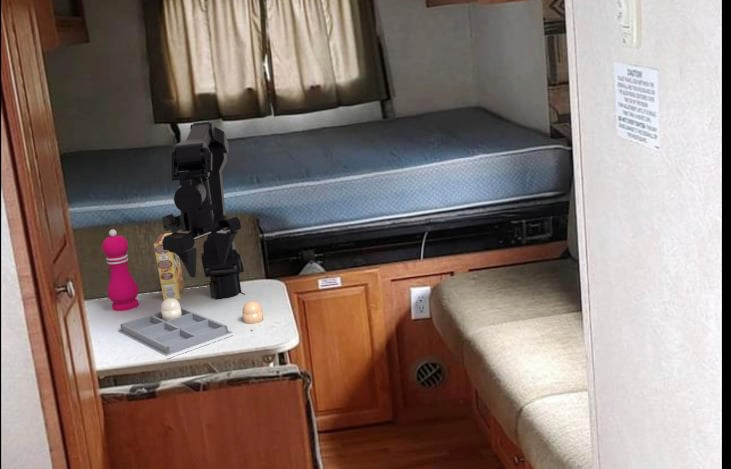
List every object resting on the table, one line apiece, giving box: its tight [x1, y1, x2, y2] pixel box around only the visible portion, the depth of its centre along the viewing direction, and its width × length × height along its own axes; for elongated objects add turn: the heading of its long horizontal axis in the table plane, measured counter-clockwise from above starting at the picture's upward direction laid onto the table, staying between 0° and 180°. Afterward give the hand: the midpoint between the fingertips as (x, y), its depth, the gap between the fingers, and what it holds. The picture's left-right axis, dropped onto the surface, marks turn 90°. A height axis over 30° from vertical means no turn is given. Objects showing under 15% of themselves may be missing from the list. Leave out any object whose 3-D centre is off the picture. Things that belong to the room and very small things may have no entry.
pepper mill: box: [101, 228, 140, 312], centre depth 227 cm, size 7×7×20 cm
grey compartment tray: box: [117, 306, 234, 360], centre depth 209 cm, size 16×23×2 cm
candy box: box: [153, 232, 185, 301], centre depth 233 cm, size 9×4×15 cm, turn 2°
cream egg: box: [160, 298, 182, 321], centre depth 216 cm, size 4×4×5 cm
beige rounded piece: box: [242, 300, 264, 327], centre depth 211 cm, size 4×4×5 cm
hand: (208, 270), depth 209 cm, fingers open, 9 cm apart
